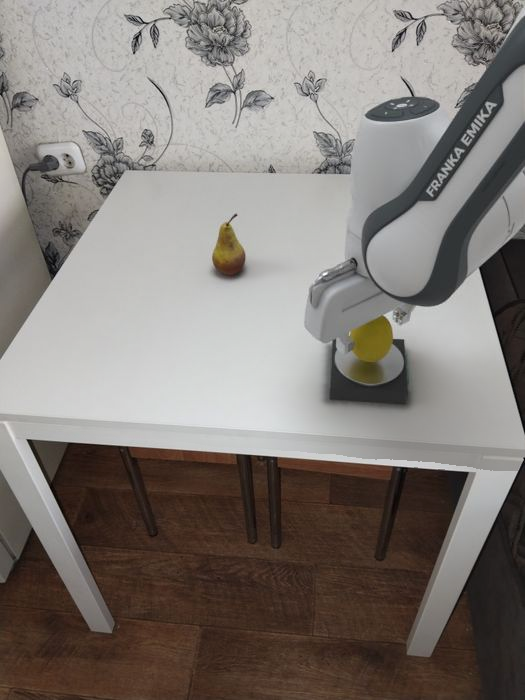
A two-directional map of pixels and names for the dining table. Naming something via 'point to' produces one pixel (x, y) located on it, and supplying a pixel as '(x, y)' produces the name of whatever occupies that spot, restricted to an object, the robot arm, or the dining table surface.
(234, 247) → the fruit
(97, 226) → the dining table surface
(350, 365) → the scale pan
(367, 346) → the lemon
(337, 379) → the scale
